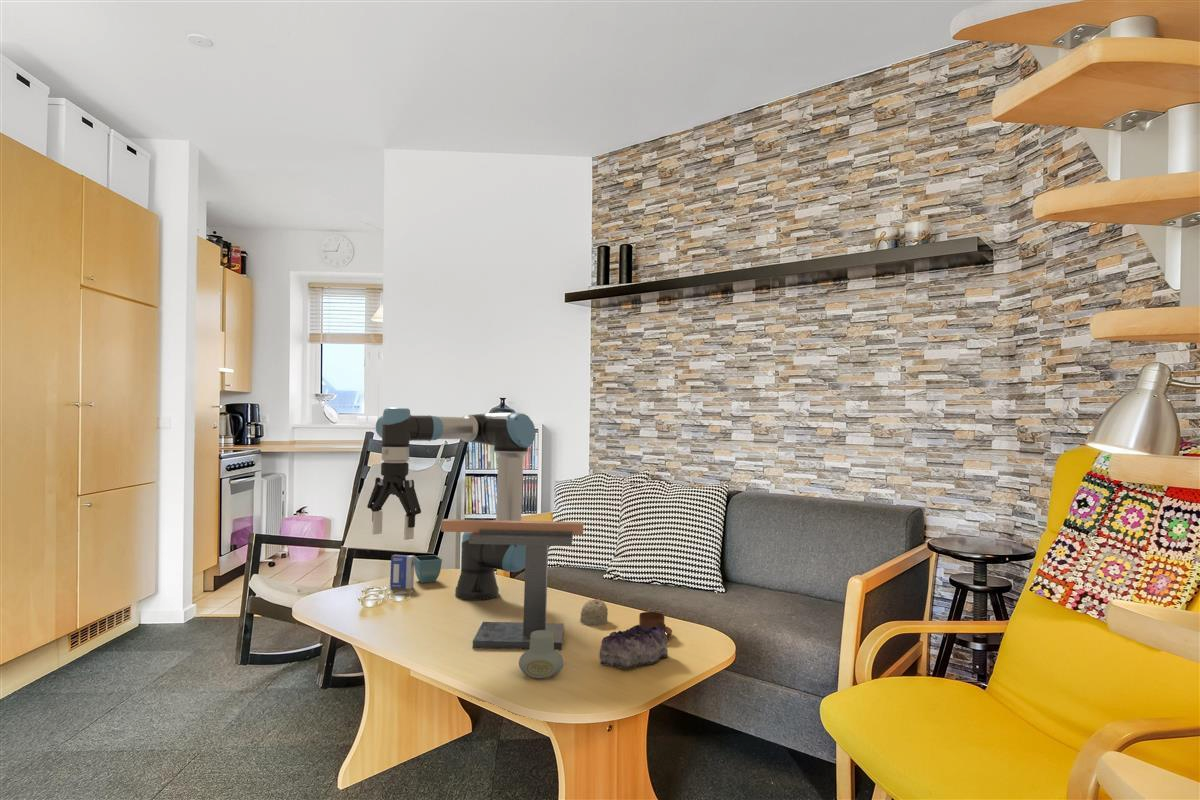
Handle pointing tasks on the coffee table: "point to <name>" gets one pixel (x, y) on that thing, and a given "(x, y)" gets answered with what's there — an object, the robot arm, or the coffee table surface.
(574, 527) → the block
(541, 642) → the air freshener
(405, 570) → the walkman
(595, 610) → the beige rough dome
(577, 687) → the coffee table surface
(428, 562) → the flower pot
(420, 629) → the coffee table surface
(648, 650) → the geode
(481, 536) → the stand
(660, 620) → the cup and saucer
